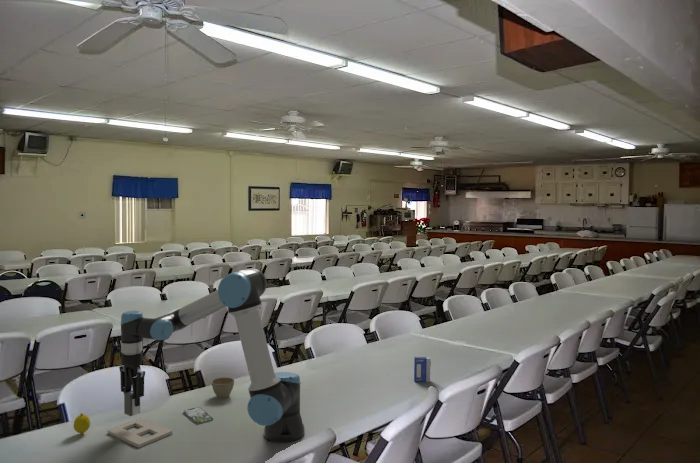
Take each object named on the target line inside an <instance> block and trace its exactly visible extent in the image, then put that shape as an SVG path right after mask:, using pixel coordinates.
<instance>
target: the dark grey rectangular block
mask: <svg viewBox="0 0 700 463" xmlns="http://www.w3.org/2000/svg"><path fill="white" fill-rule="evenodd" d="M131 390H132V391H129V392H126V393H124V392H123V396H124V397H123V399H124V400H123V401H124V402H123V403H124V404H123V405H124V406H123V409H124V410H123V412H124V413H123V414H124V415H127V416H129V417H132V416H134V415H132V397H133V389H131Z"/></svg>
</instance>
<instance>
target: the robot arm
mask: <svg viewBox="0 0 700 463" xmlns="http://www.w3.org/2000/svg"><path fill="white" fill-rule="evenodd" d="M266 278H267V277H266V276H265V274H264V273H263V272H262V271H261V270H260V269H257V268H253V267H251V268H245V269H242V270H236V271H233V272H231V273H229V274H227V275H225V276H224V277H223V278H222V279H221V280H220V282H219V284H218V288H217V290H215V291H213V292H211V293H209V294H207V295H205V296H203V297H200V298H198V299H197V300H195V301H192V302H190V303H188V304H187V305H186V304H185V305H184V306H182V307H180V308H179V309H176V310H174V311H171V312H170V313H166V314H164V315H161V316H157V317H155V318H147V317H144V316H143V312H142V311H140V310H128V311H125V312H122V314H121V317H120V333H121V334H120V335H121V336H120V337H121V339H120V352H121V355H120V358H121V360H120V361H121V365H120V366H119V368H118V369H119V374H120V392H122V393H123V394H124V393H126V392H129V391H132V390H133V397H132V415H133V416H136V415H138V414H140V413H141V397H144V396H145V376H146V371H144V370H143V371H142V370H141V368H142V367H141V363H143V360H144V358H143V356H144V355H143V339H146V340H147V339H149V340H156V341H166V340H169V339H170V338H171V336H172V335H173V333H175V332H177V331H182V330H184V329H185V328H187V327H188V326H191V325H192V324H194V323H196V322H199V321H202V319H206V318H207V317H209V316H211V315H214V314H215V313H218V312H220V311H221V310H224V309H226V308H227V311H228V313H229V315H231V316H233V317H234V320H235V324H236V328H237V331H238V334H239V335H238V336H239V340H240V342H241V347H242V351H243V355H244V360H245V363H246V367H247V371H248V375H249V378H250V384H249V386H248V393H249V397H250V399H249V400H248V403H247V412H248V416H249V417H250V419H251V420H252V421H253V422H254V423H256V424H258V425H260V426H263V427H264V429H263V430H264V431H263V434H264V437H265V439H267V440H269V441H271V442H275V443H291V442H294V441H297V440H299V439H301V438H303V436H304V435H305V424H304V423H303V419H302V415H301V378H300V375H299V374H297V373H295V372H287V371H277V372H275V369H274V366H273V362H272V361H273V360H272V358H271V357H272V356H271V354H270V350H269V346H268V342H267V338H266V334H265V330H264V327H263V323H262V318H261V314H260V308H261V307H262V300H261V296H262V295H264V294H265V292H266V290H267V286H268V285H267V284H268V283H267V279H266Z"/></svg>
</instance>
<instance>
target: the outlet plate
mask: <svg viewBox="0 0 700 463" xmlns="http://www.w3.org/2000/svg"><path fill="white" fill-rule="evenodd" d="M133 427H137V429H135V430H132V431H130V430H129V429H132V428H133ZM148 433H150V434H152V435H149V436H147V437H143V435H145V434H148ZM107 434H109V435H111V436H113V437H115V438H117V439H119V440H121V441H124V442H125V443H127V444H130V445H131V446H134V447H135V448H143V447H144V446H146V445H149V444H151V443H154V442H156V441H159V440H161V439H164V438H166V437H169V436H170V435H173V430H172V429H169V428H168V427H164V426H162V425H159V424H158V423H154V422H152V421H151V420H148V419H145V418H143V417H139V418H137V419H134V420H131V421H128V422H126V423H123V424H120V425H118V426H114V427H112V428H109V429H107Z"/></svg>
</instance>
